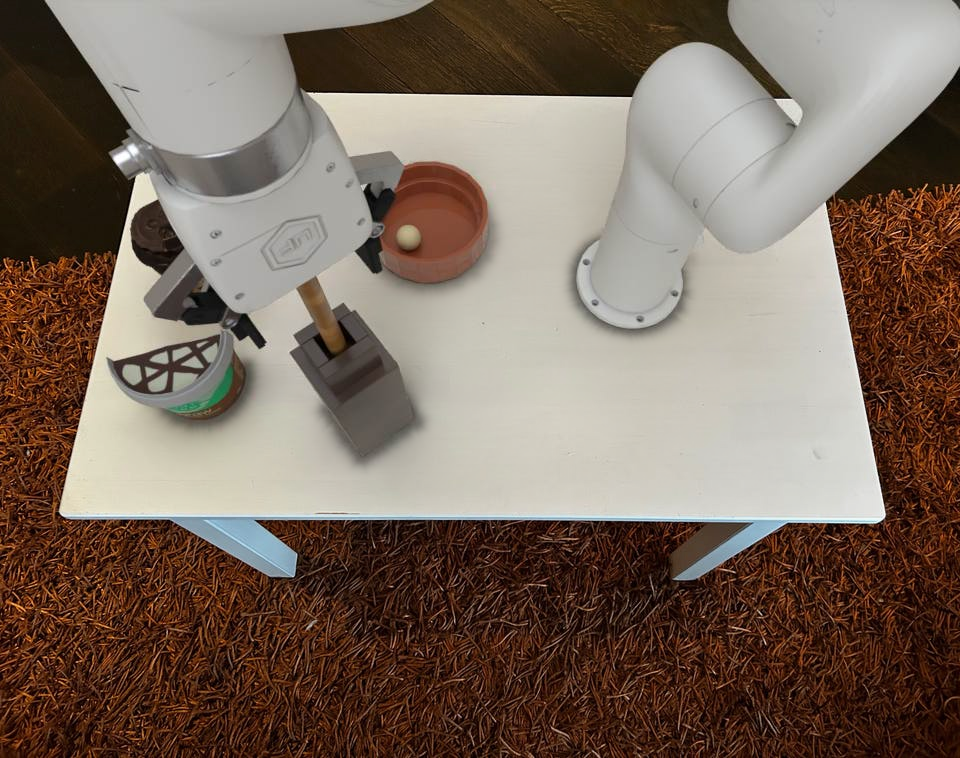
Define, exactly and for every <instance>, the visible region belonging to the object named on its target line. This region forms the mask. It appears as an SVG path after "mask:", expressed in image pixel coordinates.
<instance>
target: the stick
mask: <svg viewBox="0 0 960 758" xmlns="http://www.w3.org/2000/svg"><path fill="white" fill-rule="evenodd" d="M317 276H318V275H317ZM317 276H315V277H313V278H312V279H310V280H309V281H307V282H305V283H304V284H302V285H300V286H299V287H297V288H296V289H295V290H296V291H297V293H298V295H299V296H300V298H301V301H302V302H303V304H304V306H305V308H306V311H307V312H308V314H309V315H310V317H311V319H312V322H314V323H315V325H316V327H317V329H318V331H319V333H320V334H321V336H322V338H323V340H324V342H325V344H326V346H327V348H328V350H329V351H330V353H331V355H332V357H333V358H335V357H336V356H338V355H339V354H341V353H342V352H344V351H345V350H347V349H348V348H349V347H348V345H347V343H346V340H345V338H344V336H343V334H342V332H341V329H340V327H339V325H338V323H337V320H336V318H335V316H334V314H333V312H332V310H333V309H332V307H331V306H330V303H329V301H328V298H327V297H326V294H325V291H324V289H323V288H322V285H321V283H320V281H319V278H318V277H317Z"/></svg>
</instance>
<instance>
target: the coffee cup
mask: <svg viewBox="0 0 960 758" xmlns="http://www.w3.org/2000/svg"><path fill="white" fill-rule="evenodd" d="M129 231H130V242H131V243H130V244H131V249H132V251H133V253H134V255H135V257H136V258H137V259H138V261H139V262H140V263H141V264H143V265H145V266H146V267H149V268H152V270H153V271H154V272H156V273H157V274H159V275H160V277H161V276H162V275H163V273H164V272H165V271H166V270H167V269H168V267H169V266H170V265H171V264H172V263H173V261H174V260H175V259H176V258H177V257H178V255H179V254H180V253H181V252H182V251H183V250H184V248H185V247H184V246H183V244H182V242H181V241H180V239H179V238H178V236H177V234H176V232H175V231H174V229H173V227H172V226H171V224H170V222H169V220H168V218H167V216H166V214H165V212H164V210H163V208H162V206H161V204H160V202H159V200H158V198H157V199H156V200H154V201H152V202H150V203H147V204H146V205H143V206H141V207H140V208H139V209H138V210H137V211H136V212H135V213H134V214H133V217H132V219H131V222H130V228H129ZM204 281H205V277H203V278H202V279H201V280H200V281H199V283H198V284H197V285H196V286H195V287H194V288H193V290H192V291H191V292H201V289H202V286H203V284H204Z"/></svg>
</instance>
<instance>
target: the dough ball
mask: <svg viewBox="0 0 960 758" xmlns="http://www.w3.org/2000/svg"><path fill="white" fill-rule="evenodd" d="M396 241H397V243H398V245H399V246H400V247H401V248H402V249H404V250H414V249H415V248H417V247H418V246H419V244H420V242H421V234H420V232H419V230H418V229H417V228H416V227H414V226H412V225H405V226H402V227H401V228H400V229H399V230H398V232H397V234H396Z"/></svg>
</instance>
